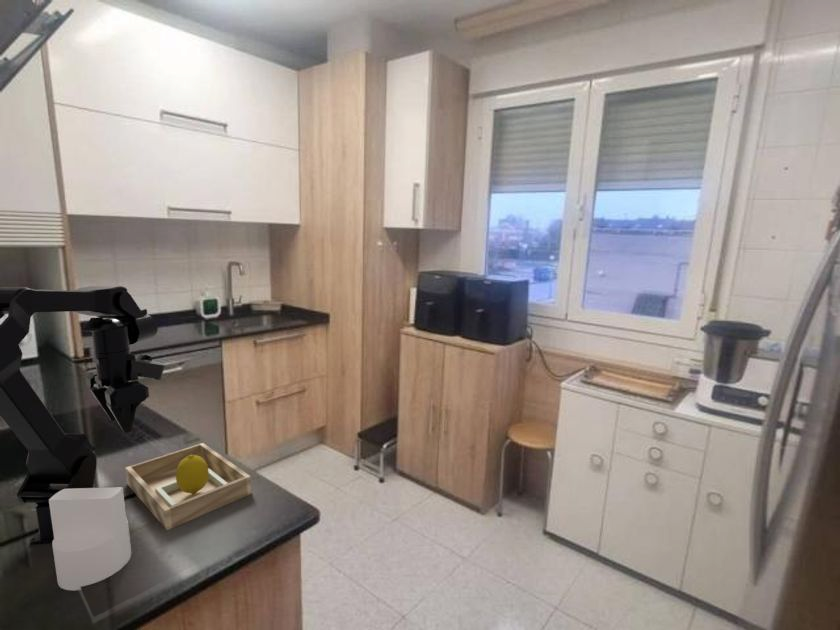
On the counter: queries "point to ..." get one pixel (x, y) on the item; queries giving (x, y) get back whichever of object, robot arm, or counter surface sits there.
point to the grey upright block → (89, 535)
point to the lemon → (192, 474)
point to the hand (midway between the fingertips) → (120, 426)
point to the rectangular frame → (172, 486)
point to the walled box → (187, 505)
